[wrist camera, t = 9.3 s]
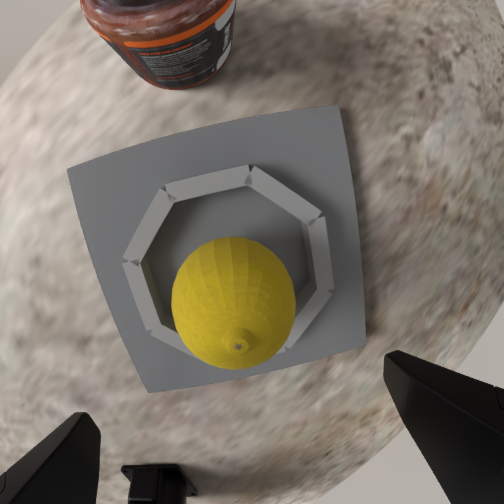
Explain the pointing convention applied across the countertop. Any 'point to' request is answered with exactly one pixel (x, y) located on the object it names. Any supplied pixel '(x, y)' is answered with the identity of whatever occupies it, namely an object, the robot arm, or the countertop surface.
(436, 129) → the countertop surface
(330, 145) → the ring plate
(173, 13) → the supplement bottle
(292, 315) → the lemon
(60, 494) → the robot arm
